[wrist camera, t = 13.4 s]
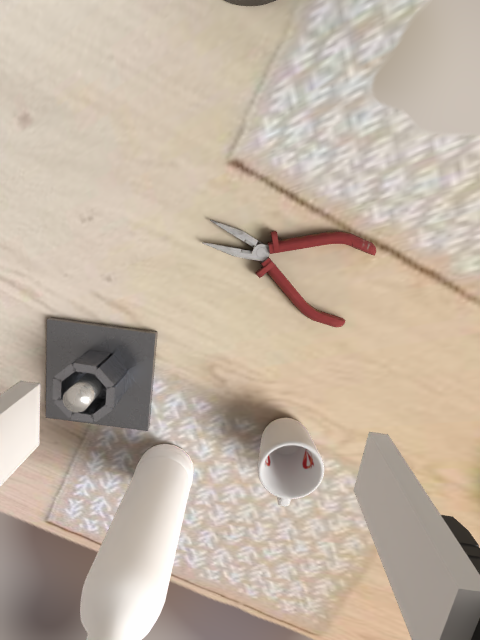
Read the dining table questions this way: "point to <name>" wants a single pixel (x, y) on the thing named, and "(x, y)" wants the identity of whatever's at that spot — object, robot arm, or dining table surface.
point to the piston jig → (70, 344)
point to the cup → (289, 461)
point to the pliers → (276, 246)
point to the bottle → (138, 549)
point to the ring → (105, 371)
